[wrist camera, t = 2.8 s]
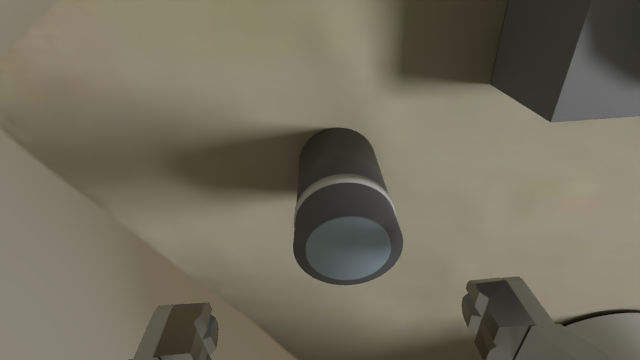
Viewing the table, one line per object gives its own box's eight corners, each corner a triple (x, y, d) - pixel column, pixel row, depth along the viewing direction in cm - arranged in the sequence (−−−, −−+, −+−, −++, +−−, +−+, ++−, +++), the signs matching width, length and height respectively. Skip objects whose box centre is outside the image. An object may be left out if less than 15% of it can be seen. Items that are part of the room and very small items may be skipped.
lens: (375, 191, 20) (401, 285, 14) (302, 196, 20) (298, 291, 14) (376, 124, 18) (409, 202, 12) (294, 129, 18) (284, 210, 12)
